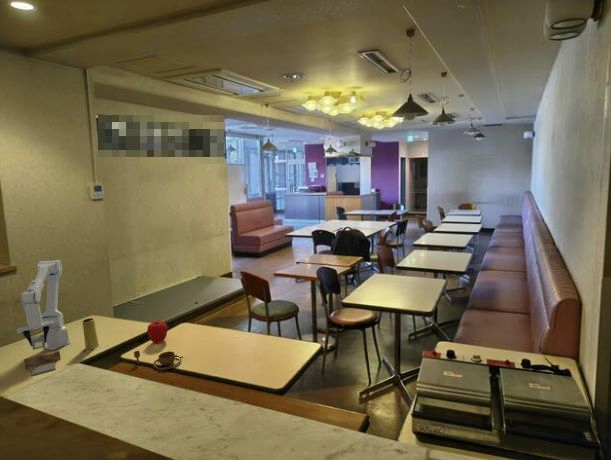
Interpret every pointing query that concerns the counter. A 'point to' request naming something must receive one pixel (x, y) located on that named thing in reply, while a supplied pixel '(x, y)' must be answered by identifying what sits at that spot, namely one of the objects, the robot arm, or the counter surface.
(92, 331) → the vase
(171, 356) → the place setting
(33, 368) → the mat
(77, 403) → the counter surface
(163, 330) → the apple
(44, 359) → the walnut screen
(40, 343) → the slate cube
